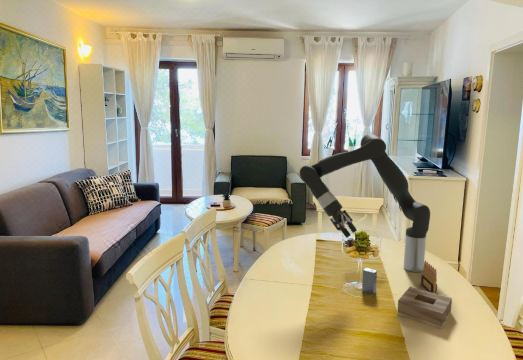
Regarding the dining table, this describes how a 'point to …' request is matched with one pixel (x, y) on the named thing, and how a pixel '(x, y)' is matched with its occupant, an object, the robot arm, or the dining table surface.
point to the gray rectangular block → (369, 281)
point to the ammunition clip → (429, 278)
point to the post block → (425, 307)
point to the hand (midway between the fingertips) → (352, 234)
